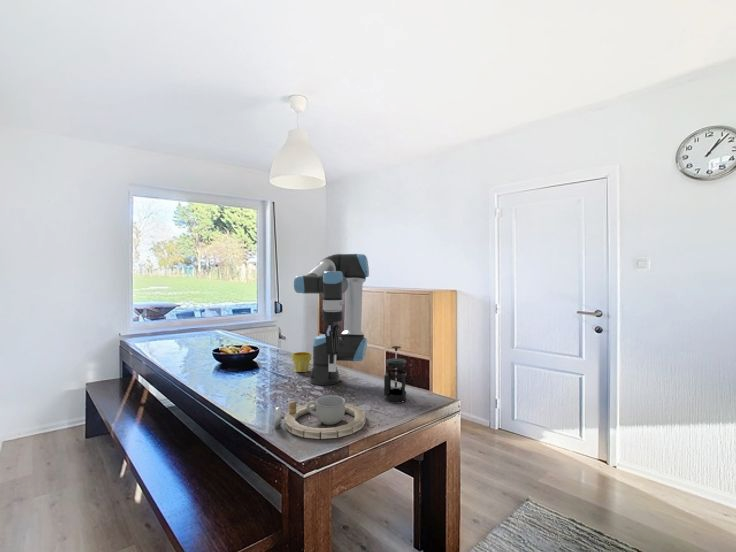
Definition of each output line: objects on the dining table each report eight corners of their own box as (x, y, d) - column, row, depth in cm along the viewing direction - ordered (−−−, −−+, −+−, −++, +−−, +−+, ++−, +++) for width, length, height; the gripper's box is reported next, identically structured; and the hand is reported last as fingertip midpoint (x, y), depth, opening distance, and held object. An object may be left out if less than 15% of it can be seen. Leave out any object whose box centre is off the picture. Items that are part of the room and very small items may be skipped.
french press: (396, 394, 169) (396, 343, 169) (412, 399, 162) (412, 346, 162) (377, 400, 161) (377, 346, 161) (393, 406, 154) (394, 350, 154)
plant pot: (305, 367, 214) (305, 350, 214) (314, 371, 206) (314, 353, 206) (288, 370, 207) (288, 353, 207) (298, 374, 199) (298, 356, 199)
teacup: (347, 416, 142) (347, 395, 142) (342, 428, 132) (342, 405, 132) (311, 414, 144) (311, 394, 144) (303, 426, 133) (303, 403, 133)
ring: (302, 404, 154) (302, 389, 154) (371, 409, 149) (371, 394, 149) (270, 434, 126) (270, 416, 126) (354, 442, 120) (355, 423, 120)
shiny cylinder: (276, 425, 133) (276, 406, 133) (284, 426, 133) (284, 407, 133) (273, 428, 131) (273, 408, 131) (281, 429, 130) (281, 409, 130)
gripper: (337, 312, 139) (337, 376, 139) (346, 309, 151) (345, 367, 152) (318, 312, 140) (317, 375, 140) (328, 308, 153) (328, 366, 153)
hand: (332, 371), depth 146 cm, fingers closed
